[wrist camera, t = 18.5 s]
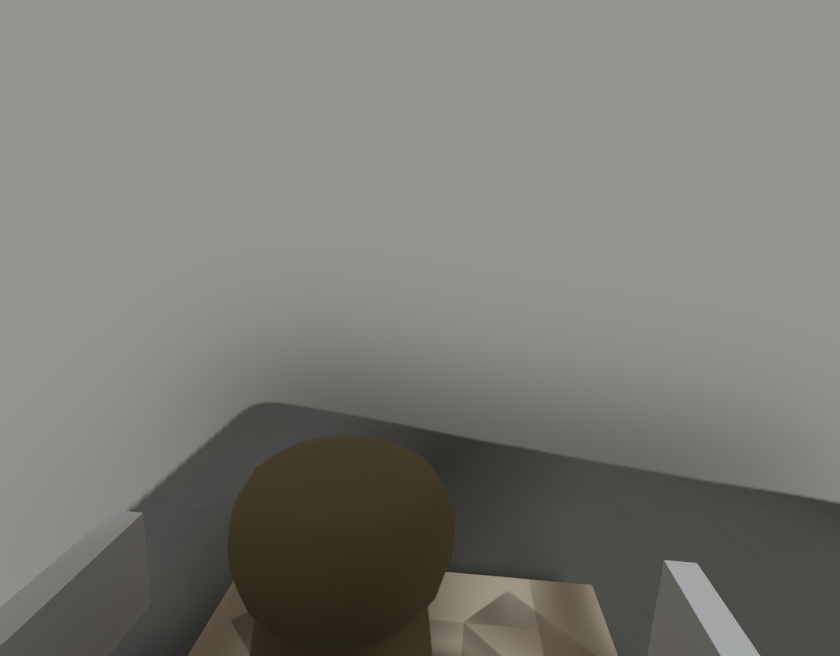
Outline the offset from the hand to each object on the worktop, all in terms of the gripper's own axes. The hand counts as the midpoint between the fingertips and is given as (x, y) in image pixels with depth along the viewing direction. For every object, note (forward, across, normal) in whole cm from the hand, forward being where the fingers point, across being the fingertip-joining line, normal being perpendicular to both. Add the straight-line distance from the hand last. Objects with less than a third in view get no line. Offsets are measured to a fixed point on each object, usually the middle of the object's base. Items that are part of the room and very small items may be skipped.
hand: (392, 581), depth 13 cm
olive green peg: (0, -1, -8) cm, 8 cm away
